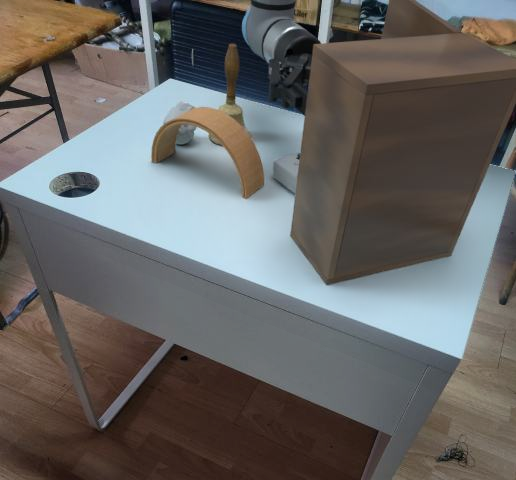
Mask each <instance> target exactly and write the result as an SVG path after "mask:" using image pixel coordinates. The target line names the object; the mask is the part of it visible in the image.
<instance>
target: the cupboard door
mask: <svg viewBox="0 0 516 480" xmlns="http://www.w3.org/2000/svg"><path fill="white" fill-rule="evenodd" d="M454 33H463V31H461V30H460V29H458V28H457V27H455V26H454V25H452V24H451V23H450V22H448V21H447V20H445V19H444V18H442V17H441V16H440V15H438V14H436V13H435V12H434V11H432V10H430V9H429V8H428V7H426V6H425V5H423V4H422V3H420V2H419V1H417V0H388V4H387V9H386V13H385V18H384V23H383V28H382V33H381V38H380V39H389V38H402V37H415V36H428V35H441V34H454Z"/></svg>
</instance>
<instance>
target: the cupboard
mask: <svg viewBox="0 0 516 480" xmlns="http://www.w3.org/2000/svg"><path fill="white" fill-rule="evenodd" d="M312 54H313V55H312V62H311V70H310V78H309V83H308V87H307V91H308V95H307V103H306V111H305V116H304V119H303V120H304V121H303V129H302V137H301V145H300V151H299V153H300V160H299V168H298V176H297V185H296V193H295V194H294V200H293V201H294V202H293V209H292V210H293V211H292V218H291V225H290V226H291V227H290V234H289V237H290V238H291V239H292V241H293V242H294V243H295V245H296V246H297V247H298V249H299V250H300V252H301V253H302V254H303V256H304V257H305V258H306V260H307V261H308V263H309V264H310V265H311V267H312V268H313V270H315V272H316V273H317V275H318V276H319V277H320V279H321V281H322V282H323V283H324V285H326V286H330V285H334V284H338V283H343V282H347V281H351V280H354V279H360V278H364V277H368V276H372V275H376V274H381V273H385V272H389V271H394V270H397V269H401V268H406V267H410V266H414V265H419V264H422V263H427V262H431V261H435V260H441V259H444V258H448V257H451V256H452V255H453V253H454V251H455V248H456V245H457V242H458V240H459V239H460V236H461V233H462V231H463V229H464V226H465V224H466V222H467V219H468V217H469V214H470V212H471V210H472V208H473V205H474V203H475V201H476V198H477V196H478V193H479V191H480V189H481V186H482V185H483V181H484V179H485V176H486V175H487V172H488V170H489V167H490V165H491V162H492V160H493V158H494V155H495V154H496V152H497V151H496V150H497V148H498V146H499V143H500V142H501V139H502V137H503V134H504V132H505V129H506V127H507V125H508V122H509V120H510V118H511V115H512V113H513V112H514V108H515V106H516V58H514V57H513V56H511V55H508V54H506V53H504V52H502V51H500V50H498V49H496V48H494V47H492V46H490V45H488V44H486V43H484V42H482V41H481V40H478V39H476V38H475V37H472V36H471V35H468V34H467V33H464V32H462V33H454V34H441V35H428V36H415V37H402V38H389V39H381V38H379V39H365V40H363V39H362V40H352V41H351V40H349V41H341V42H340V41H338V42H326V43H321V44H314V45H313V53H312Z"/></svg>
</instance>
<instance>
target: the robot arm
mask: <svg viewBox="0 0 516 480" xmlns="http://www.w3.org/2000/svg"><path fill="white" fill-rule="evenodd" d="M295 9H296V0H250V7H249V8H248V9H247V10H246V12H245V15H244V16H243V19H242V23H241V33H242V36H243V39H244V41H245V42H246V44H247V45H248V46H249V48H250V49H251V51H252V52H253V53H254V54H255V55H257V56H259V57H260V58H262V60H264V61H265V62H266V63H267V64H268V70H267V71H268V72H267V78H268V80H269V86H268V101H269V102H272V103H273V102H277V101H278V99H281V102H280V103H281V104H280V106H281V107H282V108H285V109H286V108H290V106H291V108H294V109H297V110H298V112H300V113H301V114H302V115H303V116H304V117H305V111H306V103H307V95H308V89H306V88H305V87H303V86H307V85H309V78H310V70H311V62H312V55H313V54H312V53H313V45H314V44H322V42H321V40H319V38H317V37H316V36H315V35H314V34H312V33H311V32H310V31H308V30H307V29H305V28H304V27H302V26H301V25H300V24H298V23H297V22H295V21H294V19H295ZM282 78H283V79H284V81H282V84H280V80H281V79H282Z"/></svg>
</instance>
